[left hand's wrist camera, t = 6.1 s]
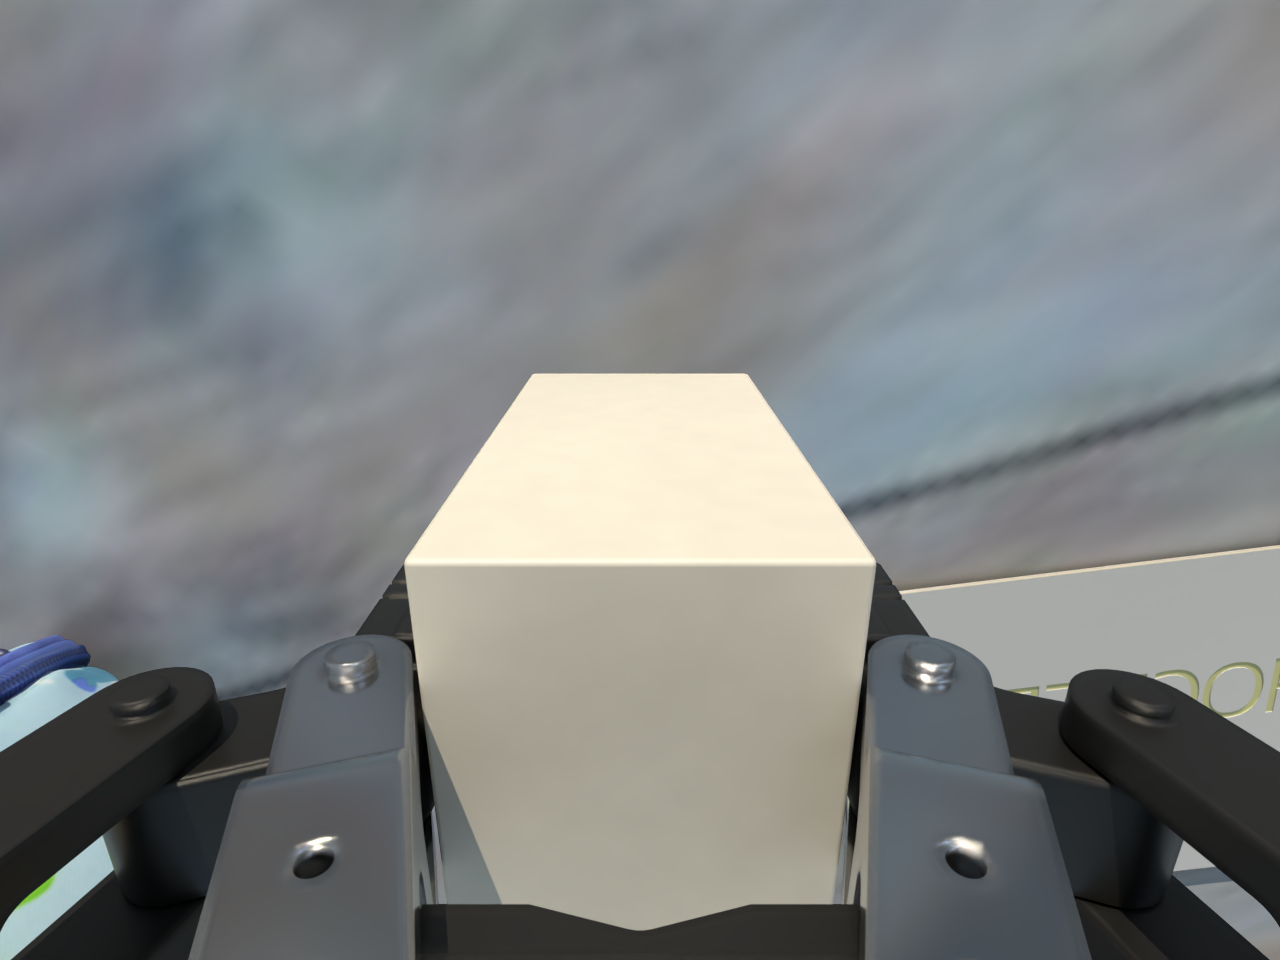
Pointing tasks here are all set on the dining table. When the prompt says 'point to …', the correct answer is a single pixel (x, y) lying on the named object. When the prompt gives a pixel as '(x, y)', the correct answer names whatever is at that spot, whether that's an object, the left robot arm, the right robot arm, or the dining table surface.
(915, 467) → the dining table surface
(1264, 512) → the dining table surface
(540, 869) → the block
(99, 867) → the lunch box
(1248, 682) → the invitation card
